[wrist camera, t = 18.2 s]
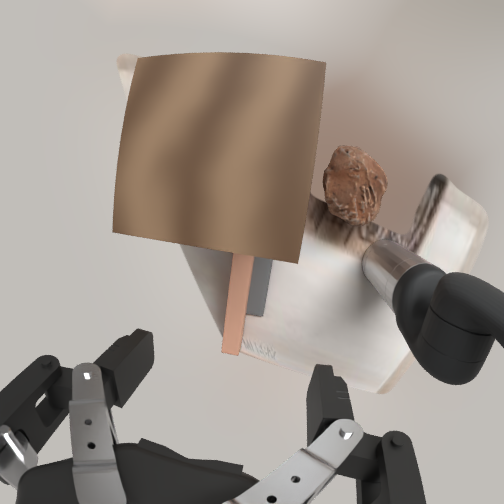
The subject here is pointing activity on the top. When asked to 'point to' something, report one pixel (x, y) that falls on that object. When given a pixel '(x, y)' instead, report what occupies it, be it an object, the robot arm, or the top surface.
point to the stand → (220, 151)
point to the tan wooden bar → (237, 302)
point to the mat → (259, 286)
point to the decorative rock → (354, 185)
